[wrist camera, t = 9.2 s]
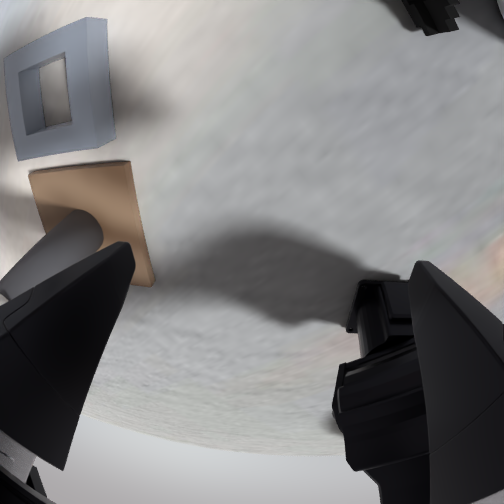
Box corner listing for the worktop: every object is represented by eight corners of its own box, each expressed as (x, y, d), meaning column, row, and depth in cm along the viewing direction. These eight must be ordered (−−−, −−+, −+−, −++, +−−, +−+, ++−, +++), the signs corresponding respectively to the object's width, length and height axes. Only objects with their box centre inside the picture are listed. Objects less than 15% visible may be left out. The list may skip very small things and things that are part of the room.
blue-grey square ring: (116, 138, 20) (97, 148, 18) (36, 151, 22) (17, 161, 19) (107, 19, 15) (86, 17, 13) (23, 54, 16) (3, 58, 14)
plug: (114, 244, 25) (35, 349, 15) (83, 256, 27) (12, 349, 16) (86, 199, 23) (-11, 294, 13) (58, 217, 24) (-27, 303, 14)
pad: (155, 280, 28) (151, 287, 27) (66, 268, 30) (61, 274, 29) (130, 161, 21) (124, 165, 21) (34, 171, 23) (28, 175, 22)
